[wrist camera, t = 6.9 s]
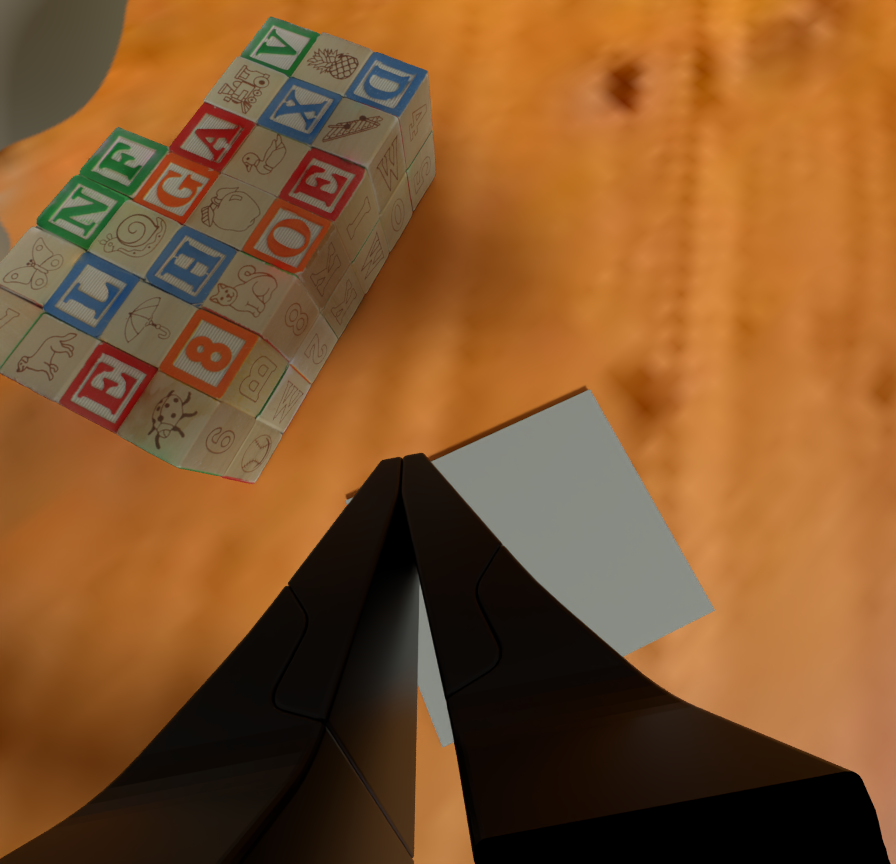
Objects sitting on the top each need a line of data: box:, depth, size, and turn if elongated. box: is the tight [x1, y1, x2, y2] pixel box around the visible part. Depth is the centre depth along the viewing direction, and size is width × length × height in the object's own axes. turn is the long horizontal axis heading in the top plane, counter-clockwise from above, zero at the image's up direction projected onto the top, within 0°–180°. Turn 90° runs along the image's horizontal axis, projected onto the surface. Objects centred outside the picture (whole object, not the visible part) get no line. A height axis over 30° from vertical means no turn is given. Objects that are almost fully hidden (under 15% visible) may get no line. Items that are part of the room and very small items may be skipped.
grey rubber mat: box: [346, 389, 715, 747], centre depth 21 cm, size 12×14×1 cm
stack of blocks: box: [0, 17, 436, 484], centre depth 22 cm, size 21×6×12 cm
